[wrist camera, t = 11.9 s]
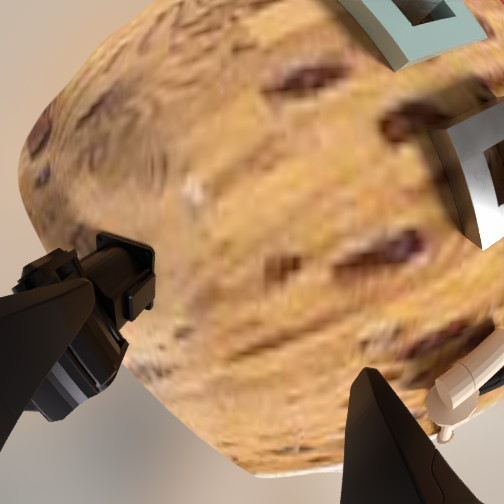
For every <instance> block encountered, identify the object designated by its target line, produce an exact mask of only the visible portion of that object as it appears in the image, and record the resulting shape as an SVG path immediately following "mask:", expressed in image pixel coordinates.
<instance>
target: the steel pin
mask: <svg viewBox="0 0 504 504" xmlns="http://www.w3.org/2000/svg"><path fill="white" fill-rule="evenodd" d="M391 1H392V2H393V3H394V4H395V5H396V7H397V8H398V9H399V10H400V11H401V12H402V14H403V15H404V16H405V17H406V18H407V20H408V21H409V22H410V24H411V25H412V26H415V25H417V24H419V23H420V22H421V21H422V20H423V19H424V18H425V17H426V16H427V15H428V14H429V13H430V12H431V11H432V10H433V9H434V8H435V7H436V6H437V5H438V4H439V3H440V2H441V1H442V0H391Z"/></svg>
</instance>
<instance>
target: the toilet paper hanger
mask: <svg viewBox="0 0 504 504" xmlns="http://www.w3.org/2000/svg"><path fill="white" fill-rule="evenodd" d="M503 365H504V330H503V329H500V328H497V329H495V330H494V331H493V332H492V333H491V334H490V335H489V336H488V337H487V338H486V339H485V340H483V341H482V342H481V343H480V344H479V345H478V346H477V347H476V348H475V349H474V350H472V351H471V352H470V353H469V354H468V355H467V356H465V357H464V358H463V359H462V360H460V361H459V362H458V363H457V364H456V365H454V366H453V367H452V368H450V369H449V370H448V371H447V372H445V373H444V374H443V375H441V376H440V377H438V378H437V379H436V380H435V385H434V386H433V387H432V388H431V389H430V391H429V394H428V397H427V400H426V409H427V414H428V418H429V419H431V420H432V421H433V422H434V423H435V424H436V425H438V426H442V427H441V431H440V432H439V433H438V435H437V442H438V443H439V444H440V445H446V444H448V443H449V442H450V441H451V440H452V439H453V436H454V433H453V430H452V429H453V426H455V425H457V424H459V423H462V422H464V421H466V420H467V419H468V417H469V416H470V415H471V414H472V413H473V411H474V410H475V409H476V407H477V402H478V398H479V393H480V392H479V388H480V387H481V386H482V385H483V384H484V383H486V382H487V381H488V380H489V379H490V378H491V377H492V376H493V375H494V374H495V373H496V372H497V371H498V370H499V369H500V368H501V367H502V366H503Z"/></svg>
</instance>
